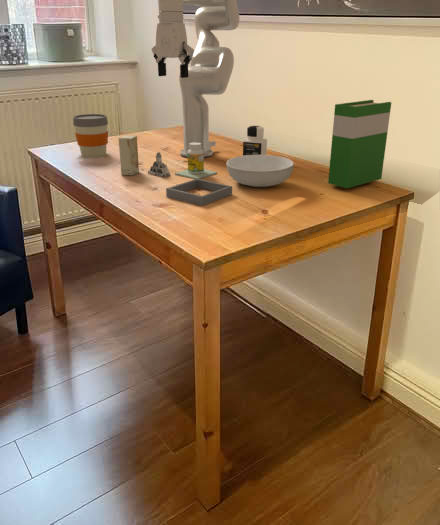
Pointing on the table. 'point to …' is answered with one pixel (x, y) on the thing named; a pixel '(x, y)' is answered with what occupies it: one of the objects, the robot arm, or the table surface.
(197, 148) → the supplement bottle
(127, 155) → the skincare box
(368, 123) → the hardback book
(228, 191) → the grey square frame
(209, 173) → the place mat
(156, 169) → the grey building model
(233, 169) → the serving bowl
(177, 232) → the table surface
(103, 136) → the reusable coffee cup
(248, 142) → the medicine bottle
